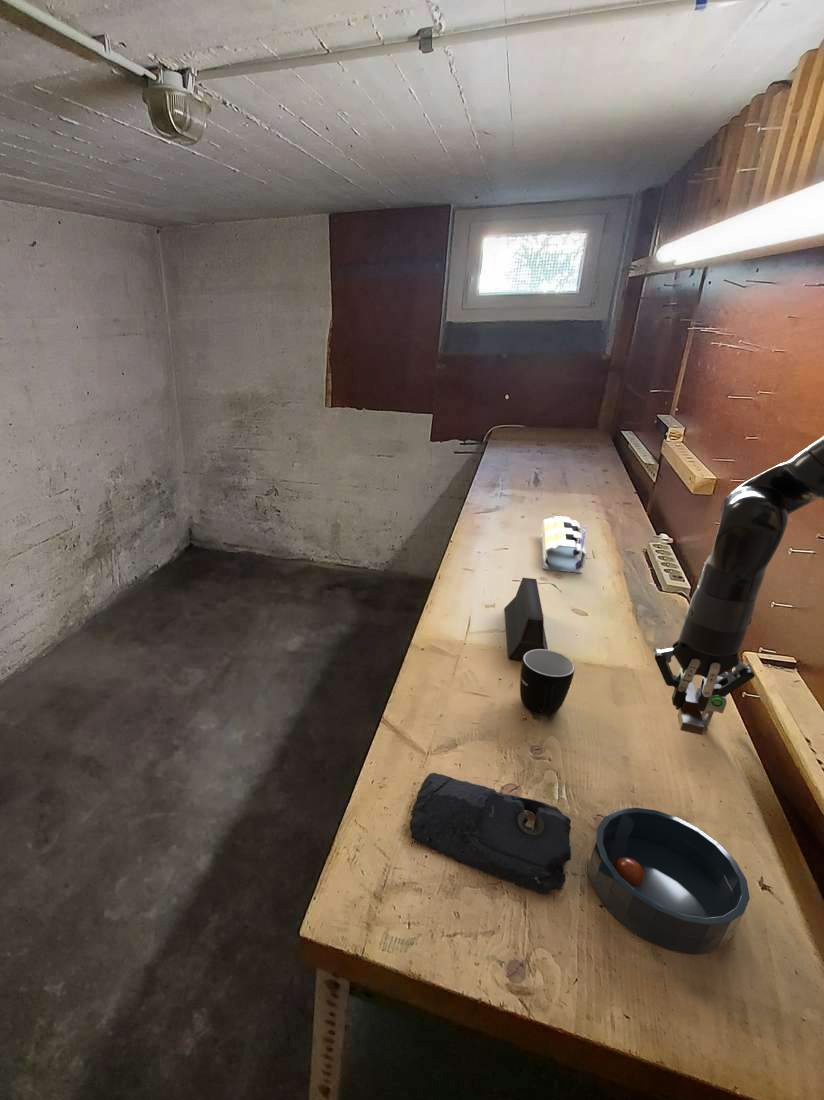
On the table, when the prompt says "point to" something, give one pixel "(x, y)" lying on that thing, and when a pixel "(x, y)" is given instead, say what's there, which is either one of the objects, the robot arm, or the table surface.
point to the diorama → (562, 544)
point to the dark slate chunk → (493, 832)
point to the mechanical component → (714, 704)
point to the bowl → (668, 881)
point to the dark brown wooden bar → (691, 713)
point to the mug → (545, 680)
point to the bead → (630, 871)
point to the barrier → (525, 621)
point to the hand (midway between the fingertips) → (686, 708)
